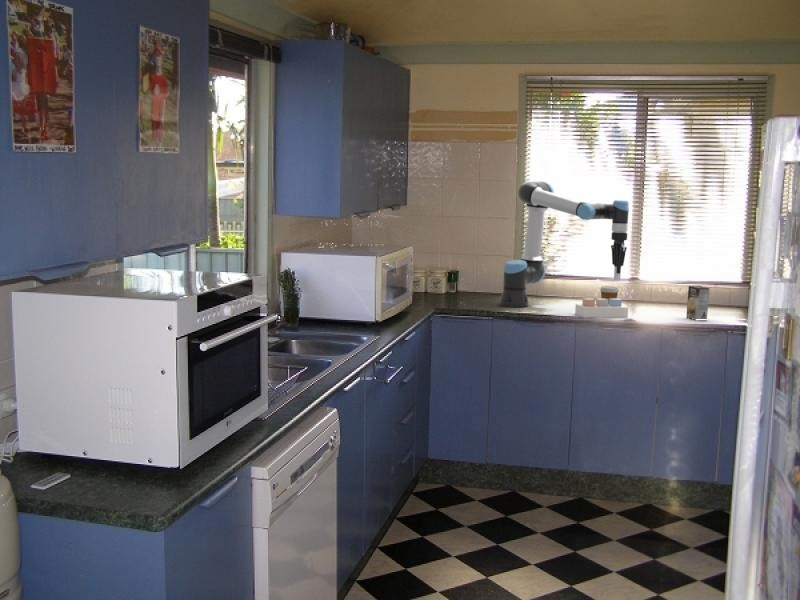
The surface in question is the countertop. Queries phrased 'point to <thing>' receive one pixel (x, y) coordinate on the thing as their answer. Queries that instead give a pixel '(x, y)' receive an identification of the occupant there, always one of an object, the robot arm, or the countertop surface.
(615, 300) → the key blue
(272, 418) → the countertop surface
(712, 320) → the countertop surface
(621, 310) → the keypad base
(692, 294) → the coffee box
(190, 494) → the countertop surface
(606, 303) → the key grey
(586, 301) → the key terracotta
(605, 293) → the disposable coffee cup
